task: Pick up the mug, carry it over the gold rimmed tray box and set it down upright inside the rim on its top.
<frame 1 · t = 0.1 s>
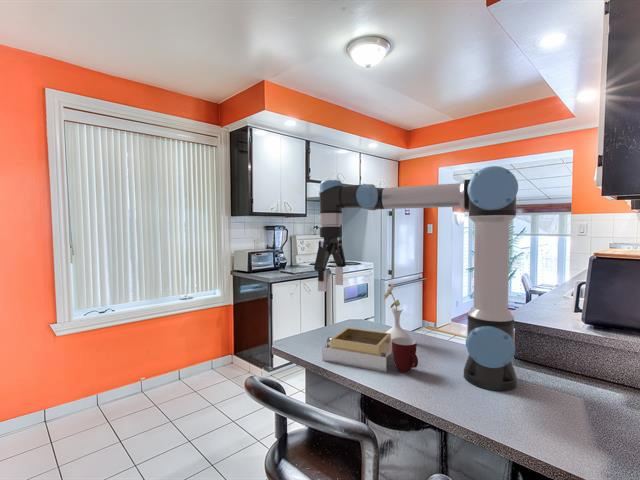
hand: (331, 287, 117), 28 cm above the countertop, fingers open, 13 cm apart
gold rimmed tray box: (361, 357, 128), on the countertop
mug: (406, 372, 115), on the countertop
flower in vase: (395, 341, 146), on the countertop
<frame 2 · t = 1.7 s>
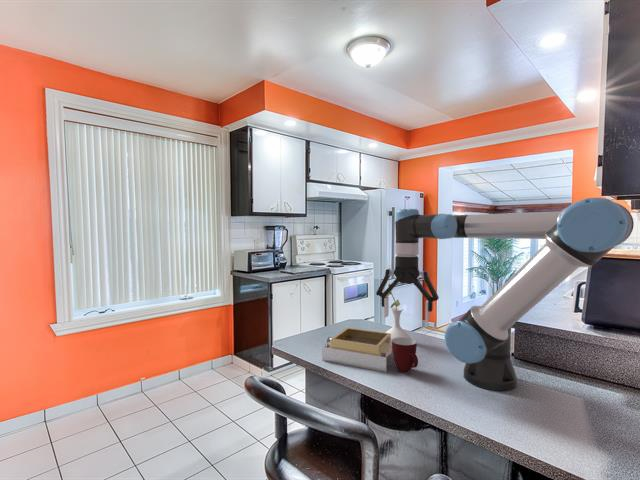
hand: (406, 318, 115), 18 cm above the countertop, fingers open, 13 cm apart
nothing on the countertop moved.
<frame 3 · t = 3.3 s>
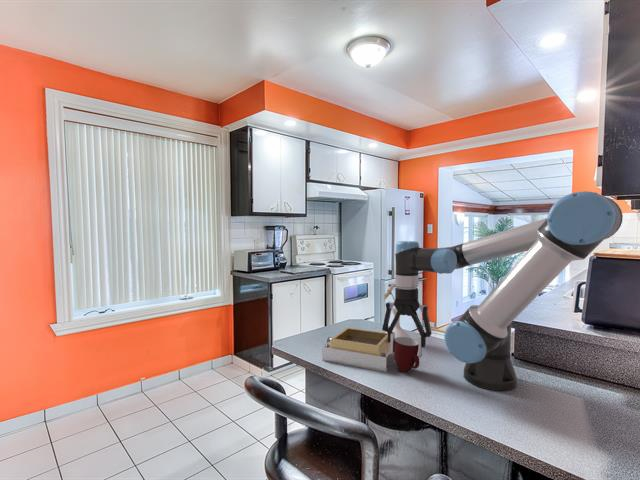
hand: (406, 354, 115), 6 cm above the countertop, fingers closed on mug, 9 cm apart
mug: (406, 372, 115), on the countertop, touching gripper
everything else where it was.
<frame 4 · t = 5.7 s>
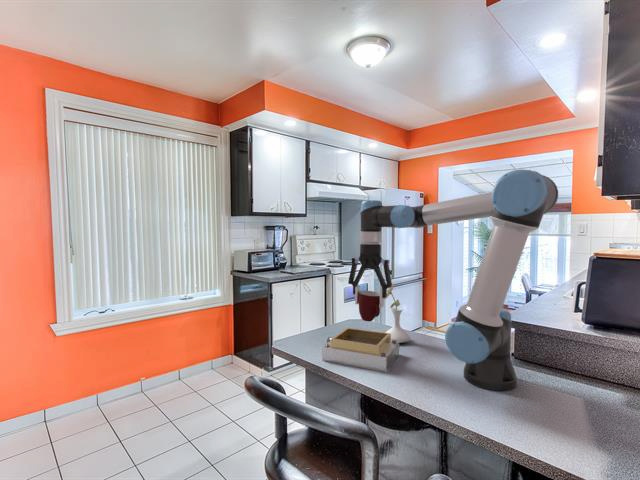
hand: (369, 304, 125), 20 cm above the countertop, fingers closed on mug, 9 cm apart
mug: (369, 321, 125), point 14 cm above the countertop, touching gripper
everything else where it was.
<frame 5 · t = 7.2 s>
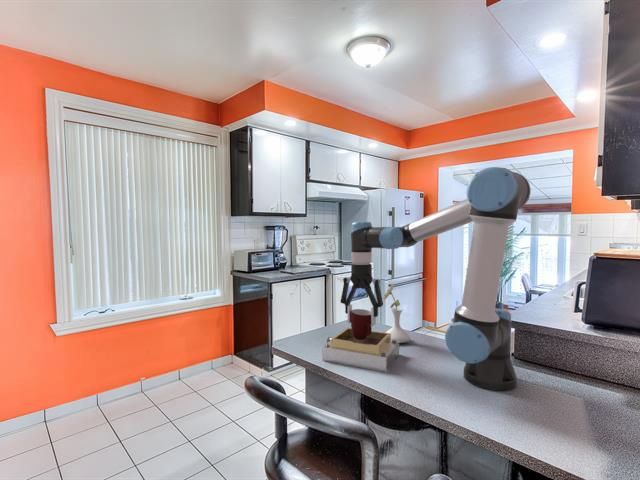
hand: (361, 323, 128), 13 cm above the countertop, fingers closed on mug, 9 cm apart
mug: (361, 339, 128), point 7 cm above the countertop, touching gripper
everything else where it was.
when the fingers open (12 cm above the countertop, at t = 8.1 s): mug drops 1 cm, resting on gold rimmed tray box.
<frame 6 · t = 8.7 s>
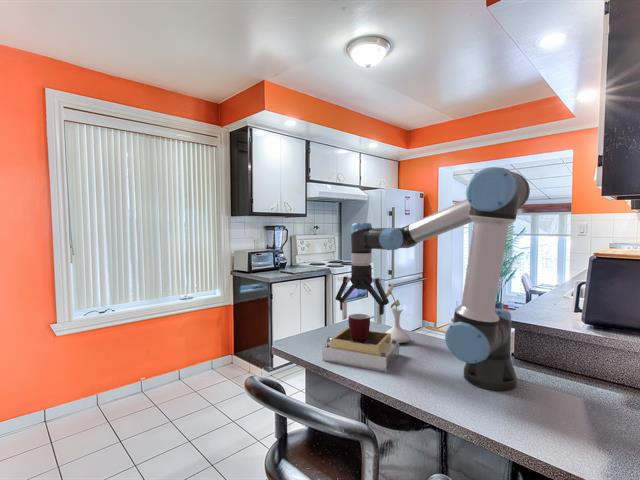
hand: (361, 321, 128), 14 cm above the countertop, fingers open, 13 cm apart
mug: (361, 344, 128), point 5 cm above the countertop, touching gold rimmed tray box
everything else where it was.
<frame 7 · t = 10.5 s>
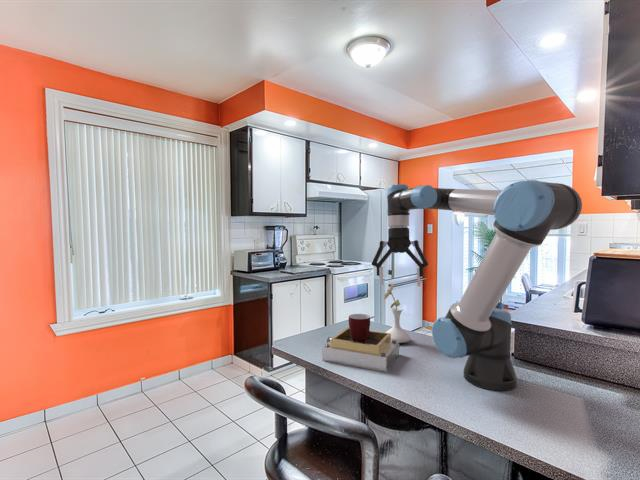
hand: (399, 285, 125), 27 cm above the countertop, fingers open, 13 cm apart
nothing on the countertop moved.
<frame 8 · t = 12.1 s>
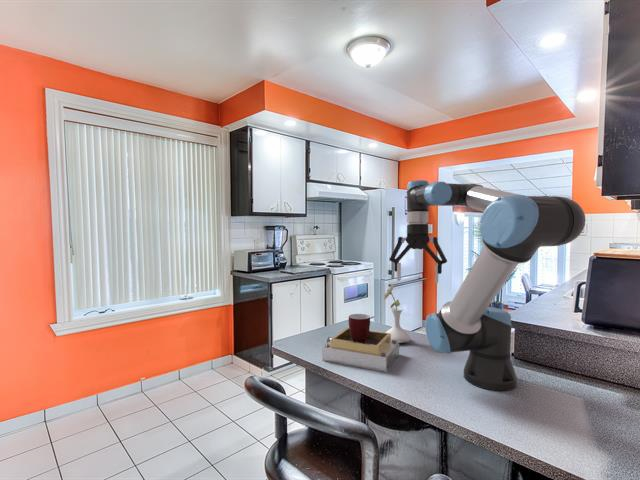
hand: (417, 281, 125), 29 cm above the countertop, fingers open, 13 cm apart
nothing on the countertop moved.
at the end: mug inside the target area on the gold rimmed tray box (0.1 cm from its centre), point 5.0 cm above the gold rimmed tray box's base; mug tilted 0°; the gripper is holding nothing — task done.
